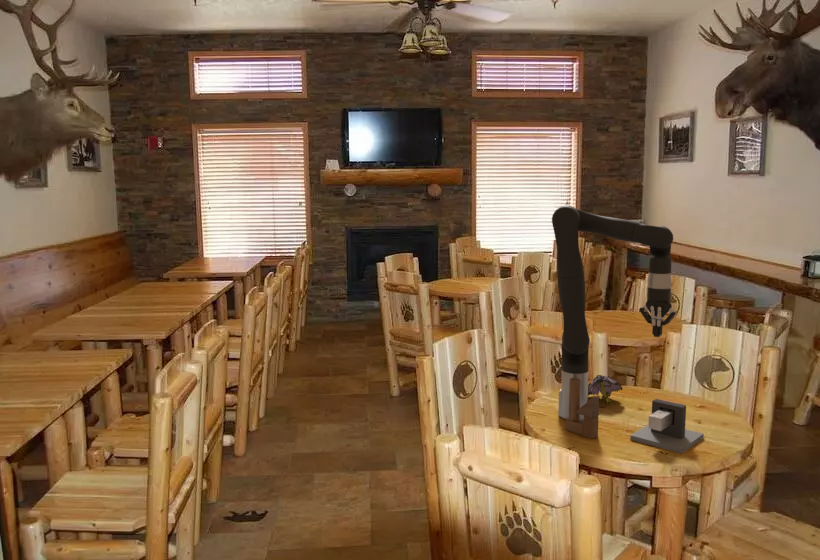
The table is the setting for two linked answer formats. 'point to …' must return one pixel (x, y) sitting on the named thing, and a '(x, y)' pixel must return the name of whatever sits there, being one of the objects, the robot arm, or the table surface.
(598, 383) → the decorative flower
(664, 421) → the sliding block
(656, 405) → the rubber collar
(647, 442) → the base plate
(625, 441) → the table surface
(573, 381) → the wooden block
